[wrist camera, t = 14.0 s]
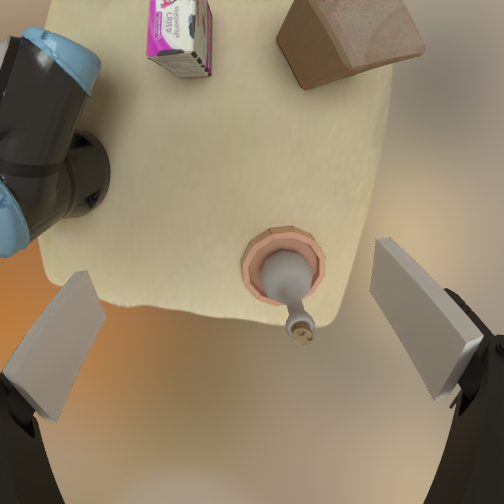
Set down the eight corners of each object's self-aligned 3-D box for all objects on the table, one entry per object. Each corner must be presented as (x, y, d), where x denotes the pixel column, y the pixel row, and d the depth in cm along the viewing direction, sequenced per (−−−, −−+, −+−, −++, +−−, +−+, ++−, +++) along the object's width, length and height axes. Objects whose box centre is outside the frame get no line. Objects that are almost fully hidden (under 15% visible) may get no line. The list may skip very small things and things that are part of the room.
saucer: (247, 300, 52) (247, 308, 50) (238, 231, 46) (238, 237, 44) (320, 291, 52) (323, 299, 50) (321, 223, 46) (325, 228, 44)
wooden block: (357, 74, 35) (432, 53, 17) (301, 92, 36) (352, 71, 18) (330, 21, 30) (387, -29, 13) (273, 37, 32) (299, -21, 14)
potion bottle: (291, 294, 51) (311, 368, 35) (249, 275, 49) (253, 350, 33) (318, 256, 48) (352, 324, 32) (275, 234, 46) (294, 299, 29)
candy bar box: (180, 18, 30) (150, -27, 15) (212, 15, 30) (199, -35, 15) (178, 80, 35) (143, 58, 20) (212, 77, 35) (195, 51, 20)
